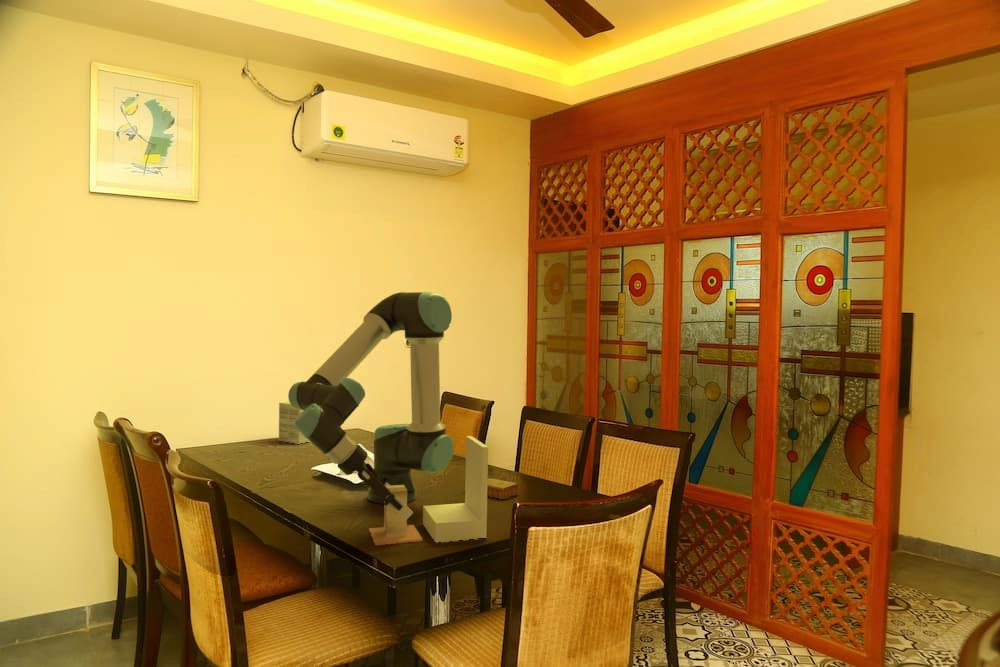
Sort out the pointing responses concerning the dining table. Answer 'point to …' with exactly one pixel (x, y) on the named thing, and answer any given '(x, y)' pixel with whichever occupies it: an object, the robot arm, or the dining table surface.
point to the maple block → (395, 514)
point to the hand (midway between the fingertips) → (404, 508)
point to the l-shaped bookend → (467, 516)
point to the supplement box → (289, 424)
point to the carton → (501, 488)
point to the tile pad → (382, 539)
